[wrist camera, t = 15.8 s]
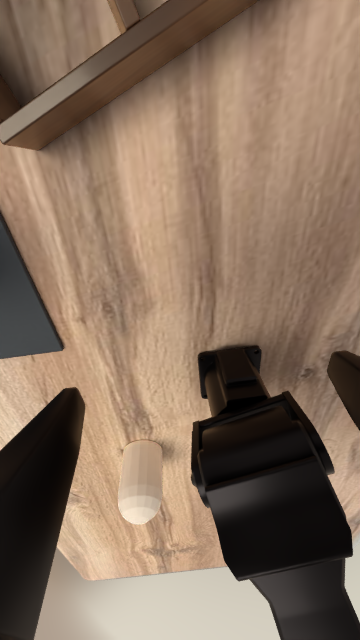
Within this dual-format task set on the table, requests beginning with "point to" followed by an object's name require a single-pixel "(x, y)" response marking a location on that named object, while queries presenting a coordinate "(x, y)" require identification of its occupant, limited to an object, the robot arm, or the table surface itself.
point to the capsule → (140, 481)
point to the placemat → (21, 307)
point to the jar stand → (112, 67)
